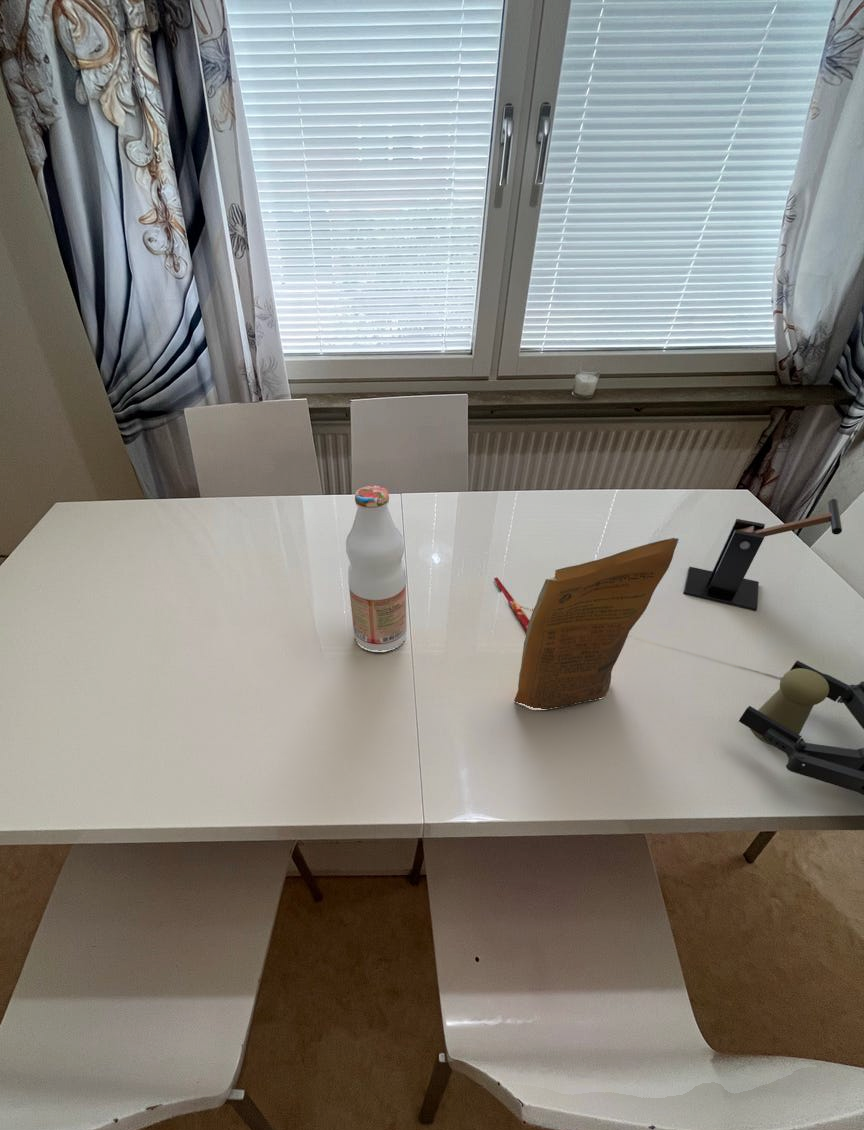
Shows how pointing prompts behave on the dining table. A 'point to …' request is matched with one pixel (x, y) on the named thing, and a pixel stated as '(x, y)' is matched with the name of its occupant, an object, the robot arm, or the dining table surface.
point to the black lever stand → (730, 571)
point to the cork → (795, 699)
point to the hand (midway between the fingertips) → (768, 689)
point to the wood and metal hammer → (805, 522)
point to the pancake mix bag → (587, 624)
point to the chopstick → (514, 605)
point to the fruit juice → (376, 573)
